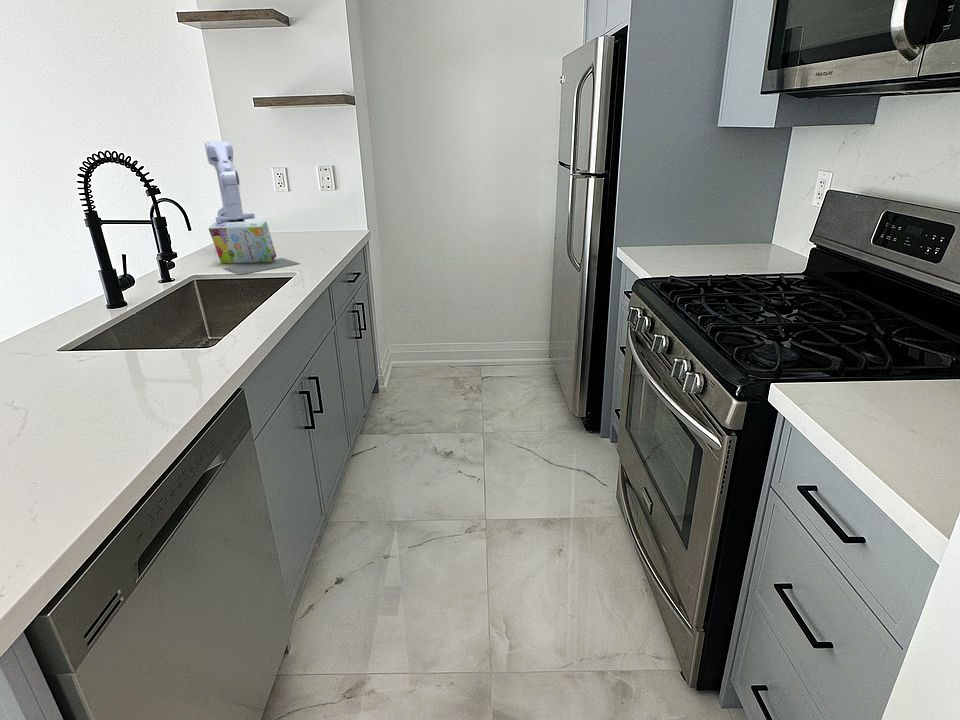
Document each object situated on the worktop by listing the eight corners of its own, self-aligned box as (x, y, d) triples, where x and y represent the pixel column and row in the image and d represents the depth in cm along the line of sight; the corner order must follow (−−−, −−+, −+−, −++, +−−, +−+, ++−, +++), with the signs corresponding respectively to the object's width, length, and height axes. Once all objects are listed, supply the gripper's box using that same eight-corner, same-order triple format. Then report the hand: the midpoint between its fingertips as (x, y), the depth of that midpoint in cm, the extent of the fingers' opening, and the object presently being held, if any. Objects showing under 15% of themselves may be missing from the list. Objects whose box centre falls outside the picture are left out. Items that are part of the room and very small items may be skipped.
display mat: (223, 268, 232) (222, 268, 232) (282, 258, 248) (282, 257, 247) (239, 275, 223) (239, 274, 223) (300, 264, 238) (299, 263, 238)
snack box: (277, 255, 243) (266, 220, 233) (272, 262, 238) (261, 226, 229) (226, 256, 245) (213, 221, 236) (220, 263, 241) (207, 228, 231)
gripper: (218, 206, 229) (224, 243, 234) (256, 202, 238) (261, 238, 243) (211, 205, 234) (217, 241, 239) (247, 201, 243) (253, 236, 248)
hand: (238, 239), depth 241 cm, fingers closed
